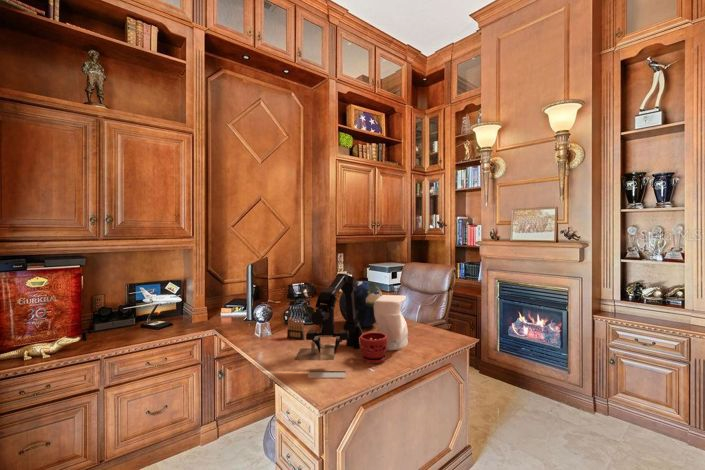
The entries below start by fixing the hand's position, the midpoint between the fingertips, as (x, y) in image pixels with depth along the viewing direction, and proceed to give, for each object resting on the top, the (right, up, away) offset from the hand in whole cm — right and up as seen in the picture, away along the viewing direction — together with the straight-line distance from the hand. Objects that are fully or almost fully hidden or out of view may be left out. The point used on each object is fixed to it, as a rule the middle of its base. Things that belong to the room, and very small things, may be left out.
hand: (327, 354), depth 147 cm
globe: (+17, -7, +70) cm, 72 cm away
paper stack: (+31, -8, +32) cm, 45 cm away
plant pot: (+21, -8, +13) cm, 26 cm away
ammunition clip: (-22, -8, +45) cm, 51 cm away
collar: (0, -2, 0) cm, 2 cm away
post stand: (-9, -8, +18) cm, 21 cm away
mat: (0, -8, 0) cm, 8 cm away
